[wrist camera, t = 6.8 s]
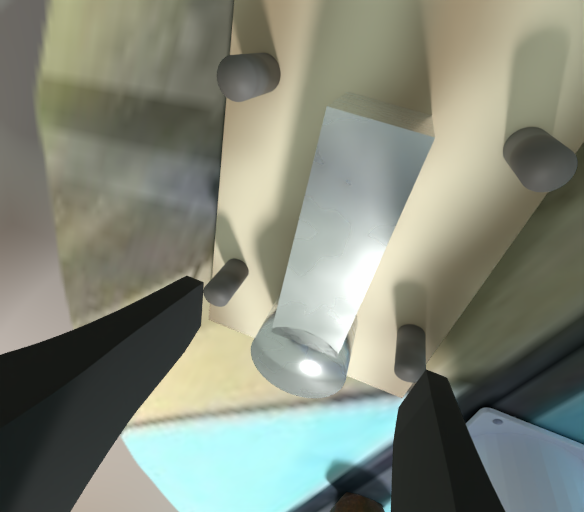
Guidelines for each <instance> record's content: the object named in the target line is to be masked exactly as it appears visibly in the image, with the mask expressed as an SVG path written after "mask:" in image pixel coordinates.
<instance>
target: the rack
mask: <svg viewBox="0 0 584 512" xmlns="http://www.w3.org/2000/svg"><path fill="white" fill-rule="evenodd" d="M217 81H218V85H219V88H220V90H221V91H222V93H223V94H224V95H225V96H226V97H227V98H226V110H225V123H224V135H223V148H222V160H221V172H220V185H219V197H218V210H217V222H216V234H215V247H214V259H213V272H212V280H211V281H210V282H209V283H208V284H207V285H206V286H205V288H204V290H203V293H204V296H205V298H206V300H207V301H208V302H209V303H210V309H209V320H211V321H213V322H216V323H218V324H221V325H223V326H225V327H228V328H230V329H233V330H235V331H238V332H240V333H243V334H245V335H248V336H250V337H253V338H255V337H256V335H257V333H258V331H259V330H260V328H261V326H262V324H263V322H264V321H265V319H266V317H267V315H268V313H269V312H270V310H271V308H272V306H273V304H274V303H275V301H276V299H277V297H278V296H279V294H280V293H281V290H282V286H283V282H284V278H285V274H286V270H287V266H288V262H289V258H290V253H291V249H292V245H293V241H294V237H295V233H296V229H297V225H298V221H299V217H300V213H301V209H302V205H303V201H304V197H305V193H306V188H307V184H308V180H309V176H310V172H311V168H312V164H313V160H314V156H315V152H316V148H317V144H318V140H319V136H320V132H321V128H322V124H323V119H324V115H325V111H326V107H327V106H328V105H329V104H331V103H332V102H333V101H335V100H336V99H338V98H339V97H341V96H342V95H344V94H345V93H346V92H351V93H354V94H358V95H361V96H365V97H368V98H372V99H375V100H379V101H383V102H386V103H390V104H393V105H397V106H400V107H404V108H407V109H411V110H415V111H418V112H422V113H425V114H429V115H432V119H433V125H434V132H435V140H434V142H433V144H432V146H431V148H430V151H429V153H428V155H427V157H426V160H425V162H424V164H423V166H422V169H421V171H420V173H419V175H418V178H417V180H416V182H415V184H414V186H413V189H412V191H411V193H410V195H409V198H408V200H407V202H406V204H405V207H404V209H403V211H402V213H401V216H400V218H399V220H398V222H397V224H396V227H395V229H394V231H393V233H392V236H391V238H390V240H389V242H388V245H387V247H386V249H385V251H384V254H383V256H382V258H381V260H380V262H379V265H378V267H377V269H376V271H375V274H374V276H373V278H372V280H371V283H370V285H369V287H368V289H367V292H366V294H365V296H364V298H363V300H362V303H361V305H360V307H359V309H358V312H357V314H356V315H357V321H358V325H357V331H356V335H355V340H354V344H353V349H352V353H351V358H350V362H349V367H348V371H347V376H349V377H351V378H354V379H356V380H359V381H361V382H364V383H366V384H369V385H371V386H374V387H376V388H378V389H381V390H383V391H386V392H388V393H391V394H393V395H396V396H398V397H401V398H402V397H403V396H404V395H405V393H406V392H407V390H408V389H409V388H410V386H411V385H412V383H415V382H417V381H418V380H419V378H420V377H421V376H422V374H423V373H424V372H425V370H426V364H427V362H428V361H429V359H430V358H431V357H432V355H433V354H434V352H435V351H436V350H437V348H438V347H439V345H440V344H441V342H442V341H443V340H444V338H445V337H446V335H447V334H448V333H449V331H450V330H451V328H452V327H453V326H454V324H455V323H456V321H457V320H458V318H459V317H460V316H461V314H462V313H463V311H464V310H465V309H466V307H467V306H468V304H469V303H470V302H471V300H472V299H473V297H474V296H475V295H476V293H477V292H478V290H479V289H480V287H481V286H482V285H483V283H484V282H485V280H486V279H487V278H488V276H489V275H490V273H491V272H492V271H493V269H494V268H495V266H496V265H497V264H498V262H499V261H500V259H501V258H502V256H503V255H504V254H505V252H506V251H507V249H508V248H509V247H510V245H511V244H512V242H513V241H514V240H515V238H516V237H517V235H518V234H519V233H520V231H521V230H522V228H523V227H524V225H525V224H526V223H527V221H528V220H529V218H530V217H531V216H532V214H533V213H534V211H535V210H536V209H537V207H538V206H539V204H540V203H541V202H542V200H543V199H544V197H545V196H546V194H547V193H548V192H549V191H553V190H556V189H558V188H560V187H562V186H563V185H565V184H566V183H567V182H568V181H569V180H570V179H571V178H572V177H573V175H574V174H575V172H576V169H577V165H578V161H577V157H576V155H575V154H576V152H577V151H578V149H579V148H580V147H581V145H582V144H583V142H584V0H234V11H233V24H232V36H231V49H230V55H229V56H227V57H225V58H224V59H223V60H222V61H221V62H220V64H219V66H218V70H217Z"/></svg>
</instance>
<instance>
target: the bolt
mask: <svg viewBox="0 0 584 512" xmlns="http://www.w3.org/2000/svg"><path fill="white" fill-rule="evenodd" d="M330 512H384V509H383V507H382V505H381V504H379V503H377V502H376V501H374V500H372V499H369V498H366V497H363V496H361V495H358V494H354V493H349V492H346V493H345V494H344V495H343V496H342V497H341V498H340V500H339V501H338V502H337V503H336V504H335V505H334V507H333V508H332V509H331V510H330Z"/></svg>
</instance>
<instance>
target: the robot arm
mask: <svg viewBox="0 0 584 512" xmlns="http://www.w3.org/2000/svg"><path fill="white" fill-rule="evenodd" d="M203 285H204V282H201V281H199V280H196V279H194V278H191V277H189V276H185V277H183V278H181V279H179V280H177V281H175V282H173V283H171V284H170V285H168V286H166V287H164V288H162V289H160V290H158V291H156V292H154V293H152V294H150V295H148V296H146V297H144V298H142V299H140V300H138V301H136V302H134V303H132V304H130V305H128V306H126V307H124V308H122V309H120V310H118V311H116V312H114V313H111V314H109V315H107V316H105V317H102V318H100V319H98V320H96V321H93V322H91V323H89V324H87V325H84V326H82V327H79V328H77V329H74V330H72V331H69V332H67V333H64V334H62V335H59V336H56V337H53V338H51V339H48V340H46V341H43V342H40V343H37V344H34V345H31V346H28V347H24V348H21V349H18V350H15V351H11V352H8V353H5V354H2V355H0V512H70V511H71V510H72V508H73V506H74V505H75V503H76V502H77V500H78V498H79V497H80V495H81V494H82V492H83V490H84V489H85V487H86V485H87V484H88V482H89V481H90V479H91V478H92V476H93V474H94V473H95V472H96V470H97V468H98V467H99V465H100V464H101V462H102V461H103V459H104V458H105V456H106V454H107V453H108V451H109V450H110V448H111V447H112V445H113V444H114V442H115V441H116V440H117V438H118V437H119V435H120V434H121V432H122V431H123V429H124V428H125V426H126V425H127V423H128V422H129V421H130V419H131V418H132V417H133V415H134V414H135V413H136V411H137V410H138V409H139V407H140V406H141V405H142V404H143V403H144V401H145V400H146V399H147V398H148V396H149V395H150V394H151V393H152V391H153V390H154V389H155V388H156V387H157V385H158V384H159V383H160V382H161V380H162V379H163V378H164V377H165V376H166V374H167V373H168V372H169V371H170V369H171V368H172V367H173V366H174V364H175V363H176V362H177V361H178V359H179V358H180V357H181V356H182V354H183V353H184V352H185V350H186V349H187V347H188V346H189V344H190V342H191V341H192V339H193V338H194V336H195V334H196V333H197V331H198V330H199V328H200V326H201V316H202V301H203ZM391 512H584V445H583V444H581V443H578V442H576V441H573V440H571V439H568V438H566V437H563V436H561V435H558V434H556V433H553V432H550V431H548V430H545V429H543V428H540V427H538V426H535V425H533V424H530V423H528V422H525V421H523V420H520V419H517V418H515V417H512V416H510V415H507V414H505V413H502V412H500V411H497V410H495V409H492V408H487V407H485V408H482V409H480V410H479V411H478V412H477V413H476V414H475V415H474V416H473V417H472V418H471V419H470V420H469V421H468V422H467V423H466V424H465V421H464V419H463V416H462V414H461V411H460V409H459V406H458V404H457V401H456V399H455V396H454V393H453V391H452V388H451V386H450V383H449V381H448V379H447V378H446V377H444V376H441V375H439V374H436V373H434V372H431V371H428V370H425V372H424V373H423V374H422V376H421V377H420V378H419V380H418V381H417V383H416V384H415V385H414V387H413V388H412V390H411V391H410V392H409V394H408V395H407V397H406V398H405V399H404V401H403V402H402V404H401V405H400V406H399V409H398V415H397V421H396V427H395V434H394V441H393V463H392V492H391Z"/></svg>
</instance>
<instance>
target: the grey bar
mask: <svg viewBox="0 0 584 512" xmlns="http://www.w3.org/2000/svg"><path fill="white" fill-rule="evenodd" d="M434 140H435V132H434V125H433V119H432V115H429V114H425V113H422V112H418V111H415V110H411V109H407V108H404V107H400V106H397V105H393V104H390V103H386V102H383V101H379V100H375V99H372V98H368V97H365V96H361V95H358V94H354V93H351V92H346V93H345V94H344V95H342V96H341V97H339V98H338V99H336V100H335V101H333V102H332V103H331V104H329V105H328V106H327V107H326V111H325V115H324V119H323V124H322V128H321V132H320V136H319V140H318V144H317V148H316V152H315V156H314V160H313V164H312V168H311V172H310V176H309V180H308V184H307V188H306V193H305V197H304V201H303V205H302V209H301V213H300V217H299V221H298V225H297V229H296V233H295V237H294V241H293V245H292V249H291V253H290V258H289V262H288V266H287V270H286V274H285V278H284V282H283V286H282V290H281V293H280V294H279V296H278V297H277V299H276V301H275V303H274V304H273V306H272V308H271V310H270V312H269V313H268V315H267V317H266V319H265V321H264V322H263V324H262V326H261V328H260V330H259V331H258V333H257V335H256V337H255V338H254V340H253V342H252V345H251V356H252V360H253V362H254V364H255V366H256V368H257V369H258V371H259V372H260V373H261V374H262V375H263V376H264V377H265V378H266V379H267V380H268V381H269V382H270V383H272V384H273V385H275V386H276V387H278V388H280V389H281V390H283V391H285V392H288V393H290V394H293V395H296V396H300V397H306V398H323V397H327V396H330V395H333V394H335V393H336V392H338V391H339V390H340V389H341V388H342V386H343V385H344V383H345V380H346V376H347V371H348V367H349V362H350V358H351V353H352V349H353V344H354V340H355V335H356V331H357V325H358V321H357V315H356V314H357V312H358V309H359V307H360V305H361V303H362V300H363V298H364V296H365V294H366V292H367V289H368V287H369V285H370V283H371V280H372V278H373V276H374V274H375V271H376V269H377V267H378V265H379V262H380V260H381V258H382V256H383V254H384V251H385V249H386V247H387V245H388V242H389V240H390V238H391V236H392V233H393V231H394V229H395V227H396V224H397V222H398V220H399V218H400V216H401V213H402V211H403V209H404V207H405V204H406V202H407V200H408V198H409V195H410V193H411V191H412V189H413V186H414V184H415V182H416V180H417V178H418V175H419V173H420V171H421V169H422V166H423V164H424V162H425V160H426V157H427V155H428V153H429V151H430V148H431V146H432V144H433V142H434Z"/></svg>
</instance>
